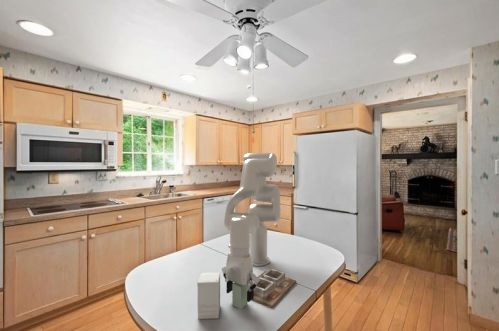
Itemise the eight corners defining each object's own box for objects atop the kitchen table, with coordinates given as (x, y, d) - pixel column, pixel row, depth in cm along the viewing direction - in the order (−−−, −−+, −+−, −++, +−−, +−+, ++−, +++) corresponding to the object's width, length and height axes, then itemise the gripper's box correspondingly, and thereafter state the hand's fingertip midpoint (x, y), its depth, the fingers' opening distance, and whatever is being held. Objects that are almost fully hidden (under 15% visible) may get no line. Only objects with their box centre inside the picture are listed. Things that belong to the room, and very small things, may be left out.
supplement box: (220, 305, 84) (220, 271, 84) (218, 319, 76) (218, 282, 76) (200, 305, 84) (201, 272, 84) (196, 319, 76) (197, 282, 76)
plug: (232, 305, 84) (232, 283, 84) (238, 299, 87) (239, 279, 87) (240, 308, 82) (240, 287, 82) (247, 303, 85) (247, 282, 85)
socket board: (237, 293, 92) (237, 283, 92) (265, 272, 110) (265, 264, 110) (271, 308, 82) (271, 297, 82) (296, 282, 100) (296, 273, 100)
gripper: (216, 248, 87) (215, 292, 86) (253, 258, 77) (252, 309, 76) (228, 243, 93) (228, 284, 92) (264, 252, 83) (264, 299, 82)
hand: (239, 295), depth 84 cm, fingers open, 9 cm apart
